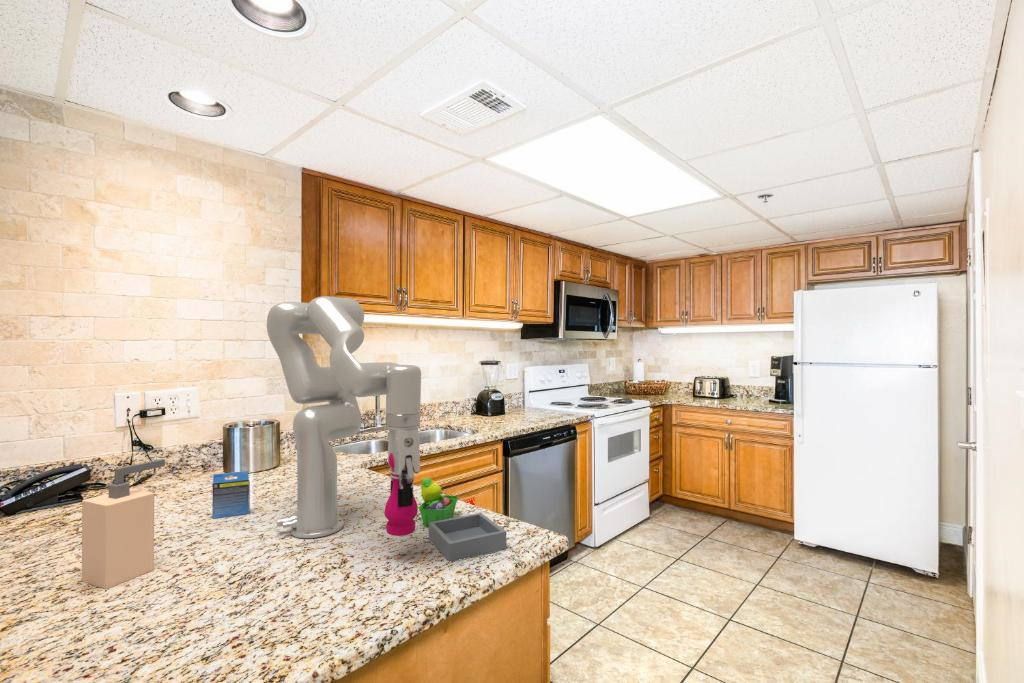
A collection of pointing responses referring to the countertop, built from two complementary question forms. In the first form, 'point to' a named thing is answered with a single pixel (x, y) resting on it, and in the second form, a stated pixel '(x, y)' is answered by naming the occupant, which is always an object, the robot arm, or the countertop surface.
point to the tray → (466, 536)
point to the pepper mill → (399, 509)
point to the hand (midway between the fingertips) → (401, 500)
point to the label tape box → (230, 494)
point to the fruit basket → (435, 503)
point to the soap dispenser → (118, 531)
